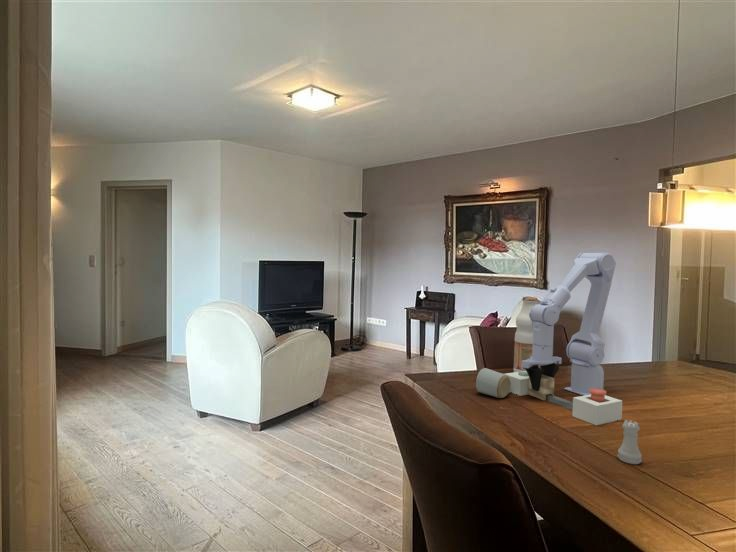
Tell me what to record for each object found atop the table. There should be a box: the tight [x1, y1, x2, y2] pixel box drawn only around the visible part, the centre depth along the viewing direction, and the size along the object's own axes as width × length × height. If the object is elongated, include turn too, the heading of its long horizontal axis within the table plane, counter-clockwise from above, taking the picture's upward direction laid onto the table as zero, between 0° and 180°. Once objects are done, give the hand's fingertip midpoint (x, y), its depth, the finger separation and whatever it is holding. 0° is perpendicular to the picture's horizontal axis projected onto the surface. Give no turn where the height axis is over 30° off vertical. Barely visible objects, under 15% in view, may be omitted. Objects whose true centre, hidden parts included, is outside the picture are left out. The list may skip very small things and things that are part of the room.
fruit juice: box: [513, 296, 541, 372], centre depth 157 cm, size 9×9×28 cm
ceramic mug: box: [475, 367, 511, 399], centre depth 134 cm, size 11×8×8 cm
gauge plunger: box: [589, 388, 607, 403], centre depth 115 cm, size 4×4×4 cm
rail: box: [545, 394, 573, 411], centre depth 127 cm, size 2×18×2 cm, turn 26°
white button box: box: [503, 371, 529, 396], centre depth 138 cm, size 10×7×6 cm
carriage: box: [527, 375, 555, 401], centre depth 132 cm, size 4×6×6 cm, turn 26°
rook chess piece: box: [616, 419, 643, 465], centre depth 91 cm, size 4×4×8 cm
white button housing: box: [571, 394, 623, 426], centre depth 115 cm, size 10×7×5 cm
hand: (541, 389), depth 132 cm, fingers closed on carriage, 4 cm apart
